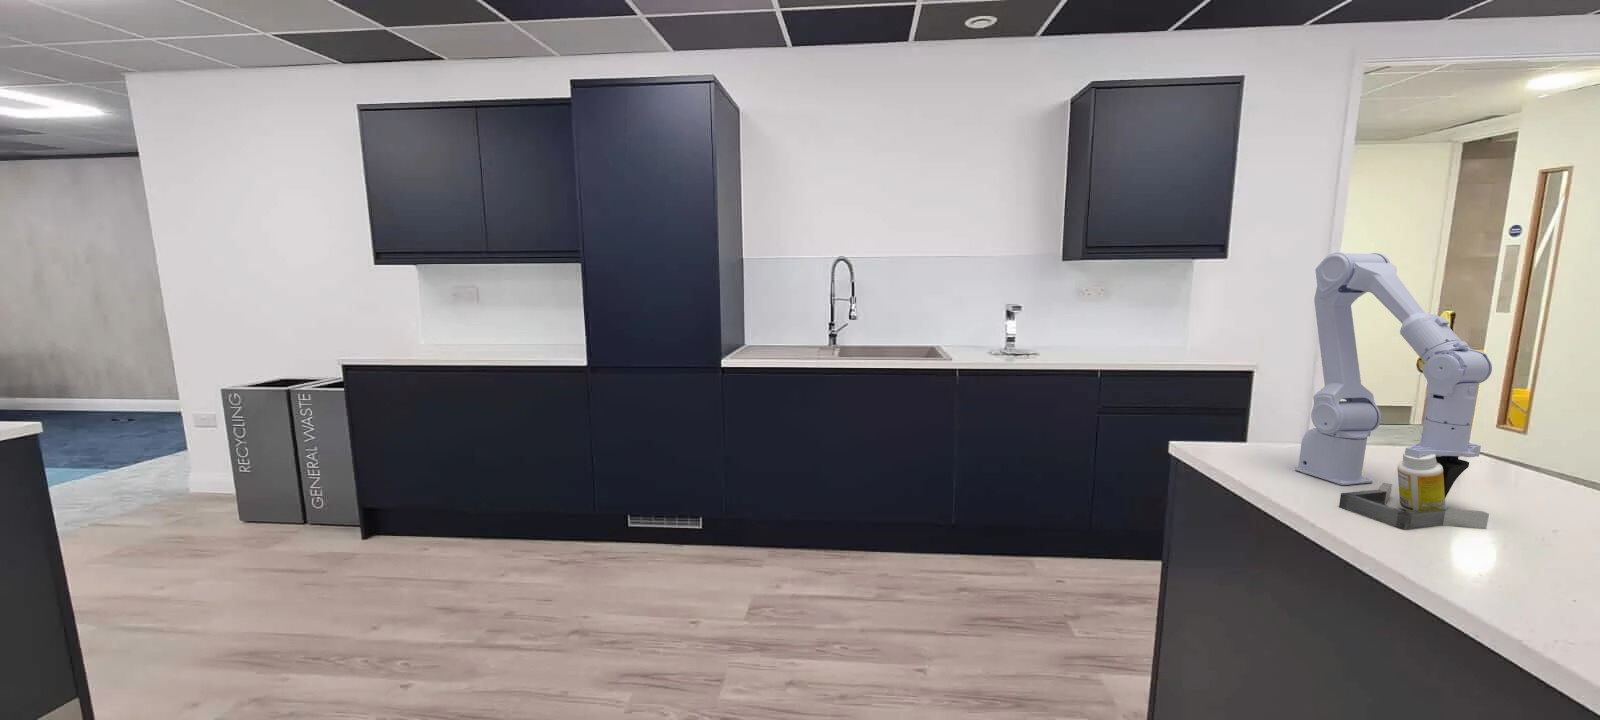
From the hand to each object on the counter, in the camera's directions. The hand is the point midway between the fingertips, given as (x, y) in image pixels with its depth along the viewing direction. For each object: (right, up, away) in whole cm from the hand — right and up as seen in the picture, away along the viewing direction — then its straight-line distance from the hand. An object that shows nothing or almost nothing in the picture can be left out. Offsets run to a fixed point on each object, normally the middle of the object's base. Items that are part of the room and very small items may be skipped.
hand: (1434, 498), depth 110 cm
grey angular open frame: (-7, -2, -1) cm, 7 cm away
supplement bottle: (-3, -2, -1) cm, 3 cm away
